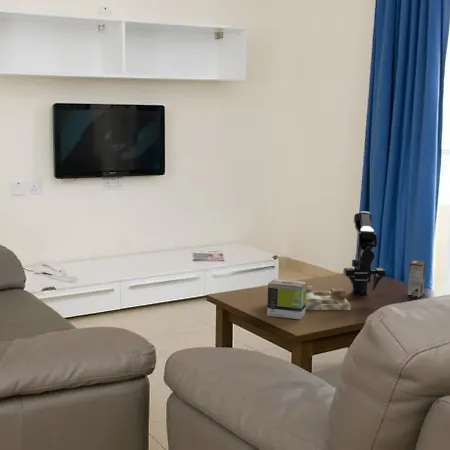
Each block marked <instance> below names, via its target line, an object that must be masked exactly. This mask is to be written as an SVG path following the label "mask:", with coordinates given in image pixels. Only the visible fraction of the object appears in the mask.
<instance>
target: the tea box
mask: <svg viewBox="0 0 450 450" xmlns="http://www.w3.org/2000/svg"><path fill="white" fill-rule="evenodd" d="M306 286H307V281H303V280H302V281H301V280H289V279H279V278H273V279H272V280H271V281H270V282H269V283H268V284H267V304H266V305H267V307H266V315H267V316H269V317H270V316H271V317H275V318H276V317H277V318H283V319H292V320H293V319H294V320H302V318H303V317H304V316H305V315H306V310H305V308H306Z"/></svg>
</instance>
